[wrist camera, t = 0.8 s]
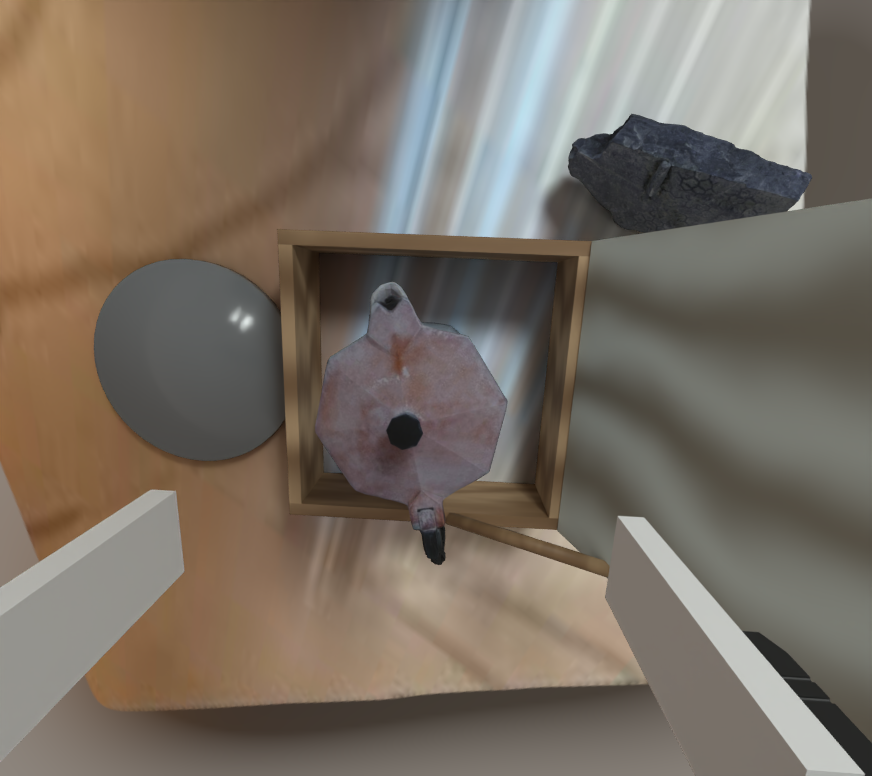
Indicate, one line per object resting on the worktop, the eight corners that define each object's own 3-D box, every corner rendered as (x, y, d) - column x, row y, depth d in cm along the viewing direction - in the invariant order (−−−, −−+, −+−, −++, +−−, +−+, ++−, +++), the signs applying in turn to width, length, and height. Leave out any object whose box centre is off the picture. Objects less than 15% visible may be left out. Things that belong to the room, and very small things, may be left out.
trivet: (89, 255, 36) (79, 254, 35) (295, 264, 35) (291, 263, 34) (117, 451, 40) (108, 455, 39) (302, 461, 39) (298, 465, 38)
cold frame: (306, 239, 35) (-128, 84, 9) (667, 253, 34) (1375, 128, 8) (313, 481, 40) (49, 841, 14) (628, 499, 39) (982, 918, 13)
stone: (545, 220, 34) (582, 191, 24) (565, 140, 32) (614, 74, 23) (711, 257, 34) (815, 242, 24) (738, 178, 33) (860, 129, 23)
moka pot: (465, 274, 35) (482, 252, 16) (502, 442, 38) (554, 599, 19) (357, 301, 36) (244, 313, 16) (402, 464, 39) (353, 635, 20)
